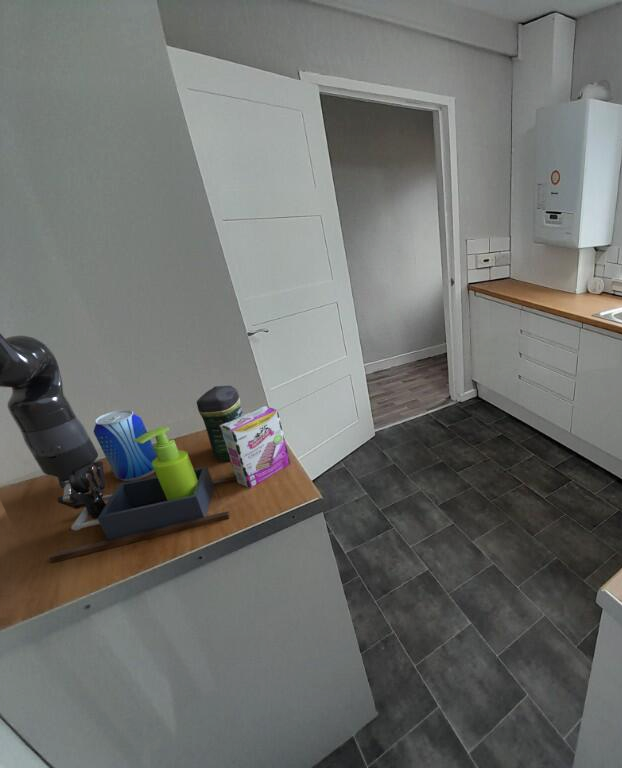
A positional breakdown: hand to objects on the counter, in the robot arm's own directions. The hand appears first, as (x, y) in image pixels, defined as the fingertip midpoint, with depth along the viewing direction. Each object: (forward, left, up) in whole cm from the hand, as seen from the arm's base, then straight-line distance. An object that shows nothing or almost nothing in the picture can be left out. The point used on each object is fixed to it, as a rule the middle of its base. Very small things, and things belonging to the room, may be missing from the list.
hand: (101, 515), depth 83 cm
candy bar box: (+28, +7, -3) cm, 29 cm away
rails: (+8, 0, -3) cm, 9 cm away
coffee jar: (+20, +21, -3) cm, 29 cm away
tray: (+8, 0, -3) cm, 8 cm away
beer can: (0, +20, -3) cm, 20 cm away
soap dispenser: (+14, 0, -3) cm, 14 cm away
